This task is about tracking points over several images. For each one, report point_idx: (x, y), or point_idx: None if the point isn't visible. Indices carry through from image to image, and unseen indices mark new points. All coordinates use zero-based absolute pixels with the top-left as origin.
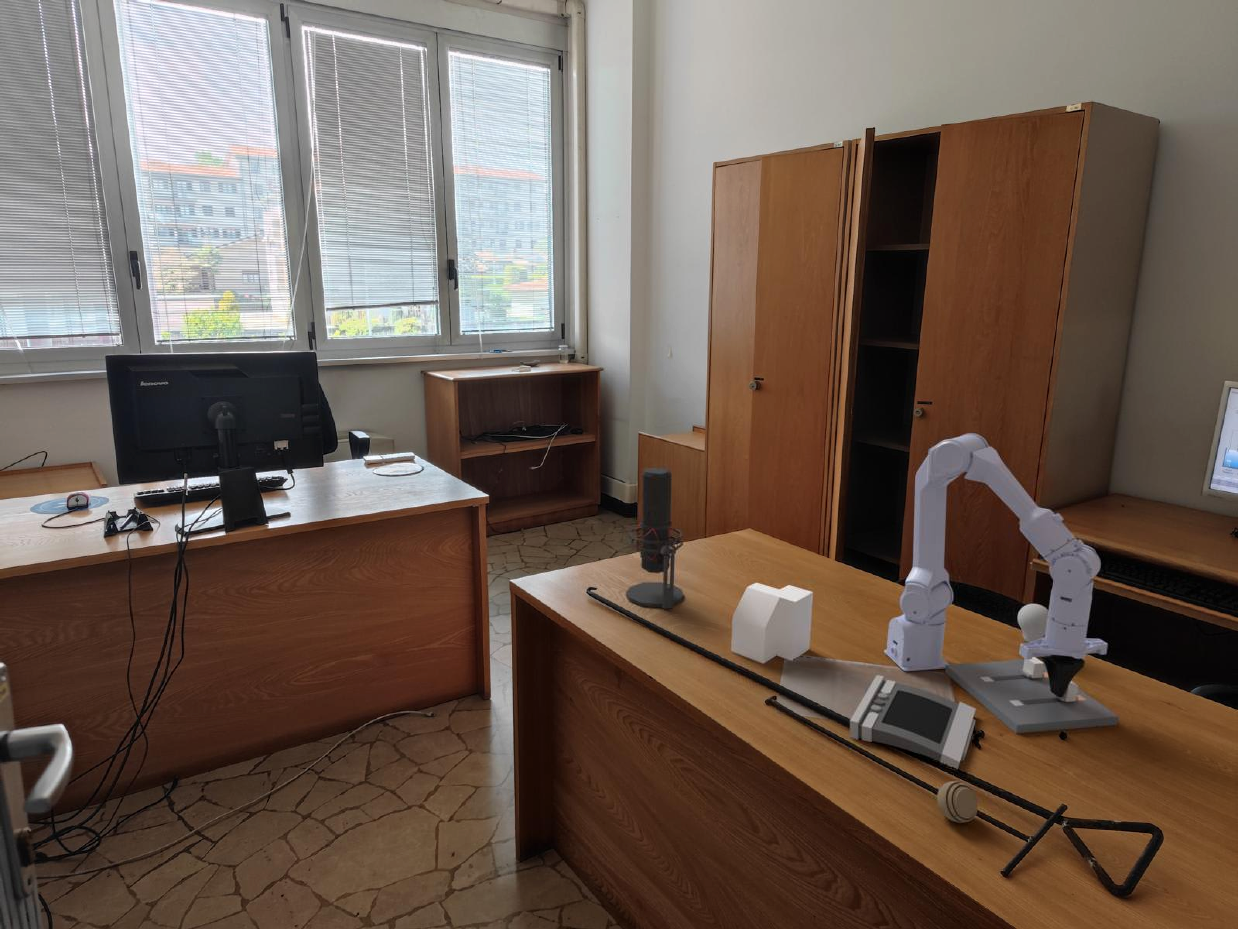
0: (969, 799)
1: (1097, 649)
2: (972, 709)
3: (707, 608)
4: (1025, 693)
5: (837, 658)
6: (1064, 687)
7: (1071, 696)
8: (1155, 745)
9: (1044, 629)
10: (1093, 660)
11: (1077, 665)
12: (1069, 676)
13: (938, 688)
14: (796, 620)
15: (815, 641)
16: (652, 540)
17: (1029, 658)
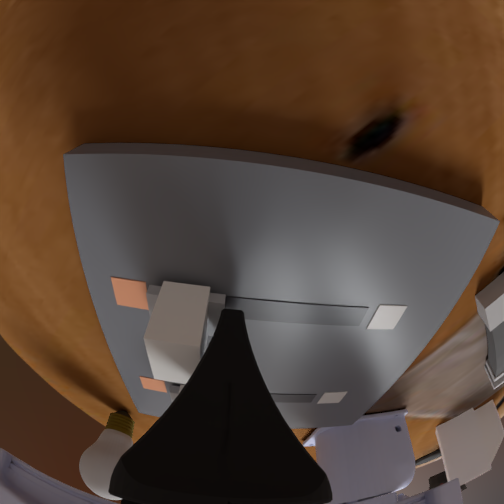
0: None
1: (13, 497)
2: (493, 307)
3: (424, 452)
4: (301, 351)
5: (435, 419)
6: (228, 347)
7: (183, 301)
8: (64, 12)
9: (101, 458)
10: (29, 364)
11: (190, 492)
12: (212, 404)
13: (417, 377)
14: (481, 451)
15: (413, 437)
16: None
17: (452, 486)
